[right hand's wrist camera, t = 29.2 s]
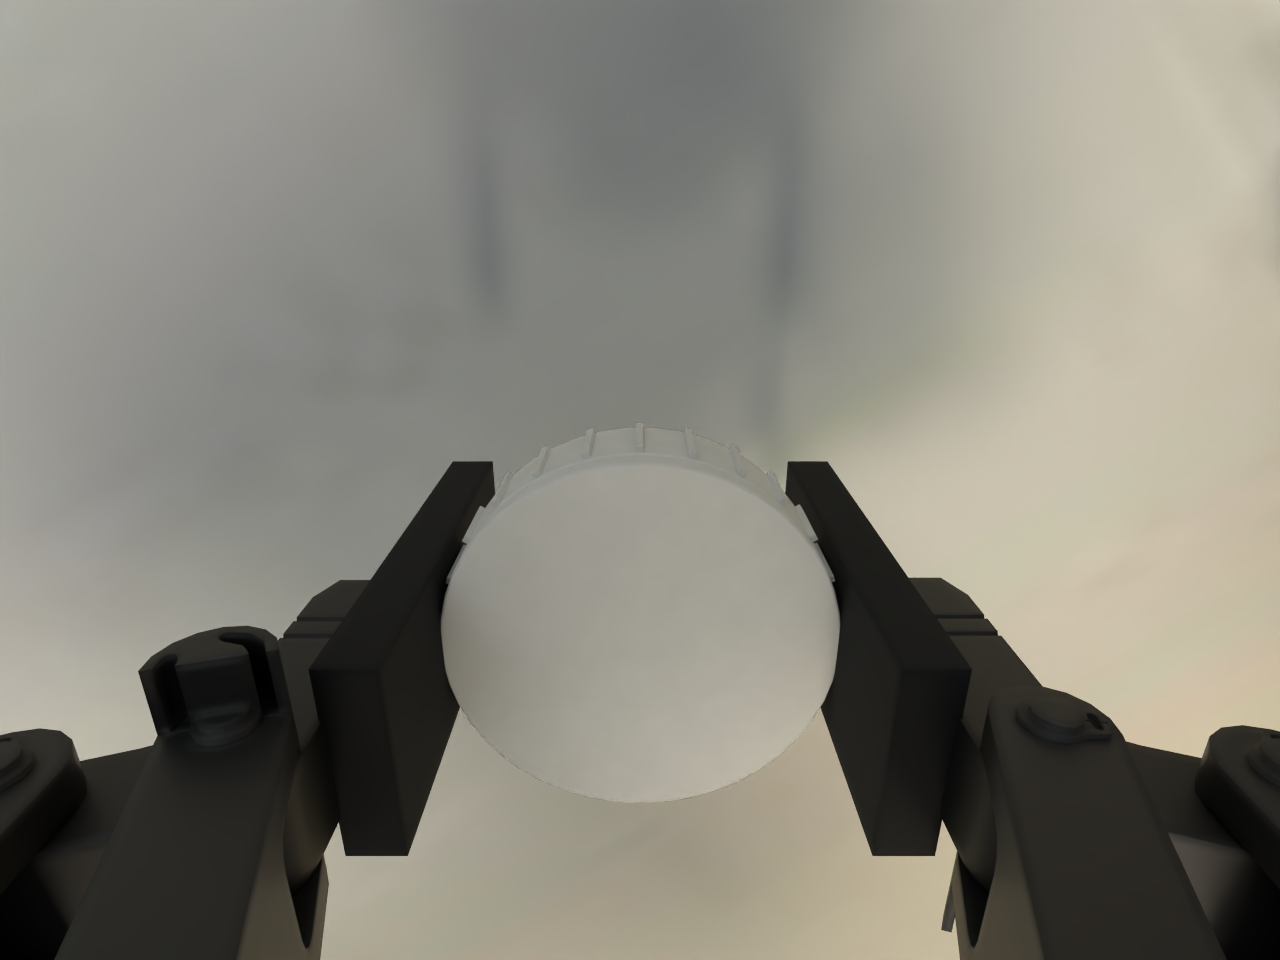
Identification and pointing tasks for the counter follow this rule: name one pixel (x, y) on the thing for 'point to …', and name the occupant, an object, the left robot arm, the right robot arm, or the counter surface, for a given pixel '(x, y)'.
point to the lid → (640, 617)
